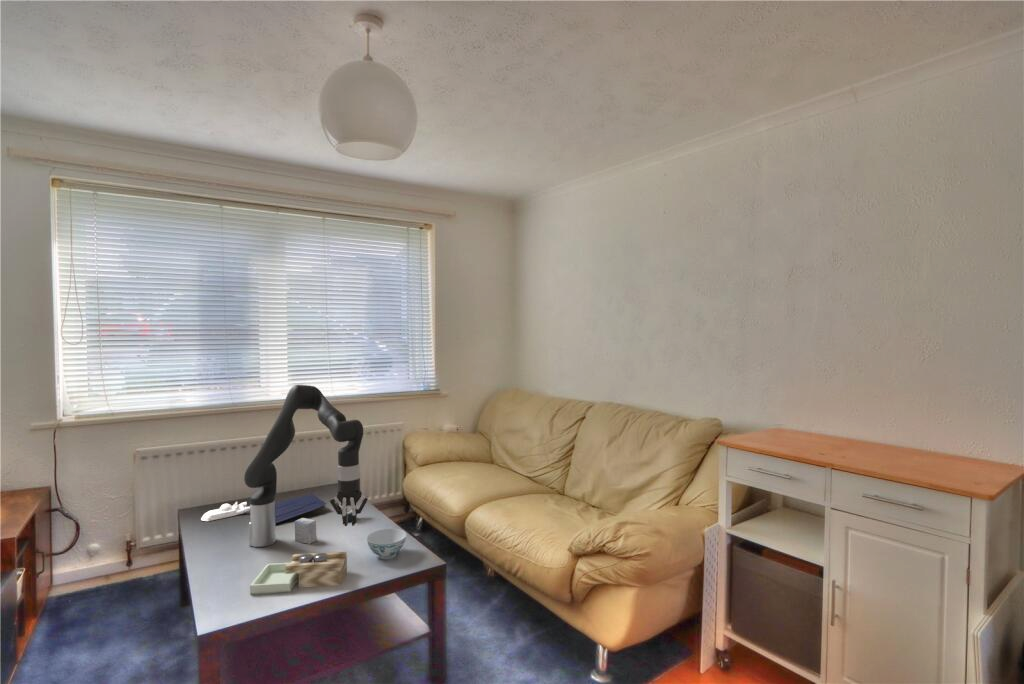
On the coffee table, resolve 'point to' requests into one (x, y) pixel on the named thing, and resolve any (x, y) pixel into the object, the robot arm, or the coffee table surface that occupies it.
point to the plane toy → (226, 511)
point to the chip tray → (274, 580)
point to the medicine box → (305, 530)
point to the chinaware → (386, 542)
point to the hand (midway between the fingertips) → (349, 524)
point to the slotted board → (319, 570)
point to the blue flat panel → (296, 507)
